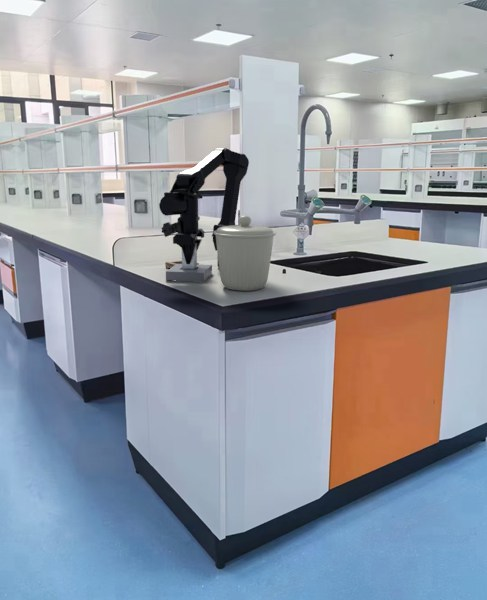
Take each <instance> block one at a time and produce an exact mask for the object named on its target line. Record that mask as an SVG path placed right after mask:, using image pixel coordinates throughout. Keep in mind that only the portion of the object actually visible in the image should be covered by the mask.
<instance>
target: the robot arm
mask: <svg viewBox="0 0 487 600" xmlns="http://www.w3.org/2000/svg"><path fill="white" fill-rule="evenodd" d="M249 164H250V162H249V158H248V157H247V155H246V154H245V153H240V152H236V151H233V150H230V149H229V148H227V147H216V148H214V149H213V150H212V152H211V153H209V154H208V155H207V156H206V157H205V158H203V159H202V160H201V161H199V163H198V164H196V165H195V166H193V167H192V168H188V169H185V170H183V171H181V172H179V173H178V174H177V175H176V177H175V181H174V183H173V185H172V187H171V190H170V191H169V192H167V191H166V192H165V191H164V194H163V197H162V198H160V202H159V204H158V207H159V210H160V212H161V214H162V215H164V216H176V215H177V216H178V217H177V222H174V223H170V222H169V221H168V222H164V223H163V224H162V227H161V233H162V234H163V235H164V238H167V237H169V236H171V235H173V234H175V233H176V234H175V235H174V236H173V237H172V244H174V245H178V247H180V248H181V251H182V250H183V253H184V257H185V260H186V264H190V262H191V260H192V257H193V254H194V250H195V248H196V245H197V251H198V250H199V247H200V245H201V243H202V240H203V238H205V231H204V230H203V229H202V228H199V221H200V216H199V199H203V197H204V196H203V195H202V194H200V193H199V191H200V190H201V188H202V187H203V186H204V185H205V183H206V178H207V177H209V176H210V175H211V174H212V173H213V172H214V171H216V170H217V169H218V168H219V167H220V166H221V167H222V172H223V173H224V177H225V186H224V192H223V193H224V194H223V201H222V207H221V208H222V209H221V215H220V221H219V222H218V223H217V224H214V225H213V228H212V230H213V231H212V235H211V237H212V243H213V247H214V250H215V251H216V252H217V244H216V235H215V234H214V233H213V232H214V231H216V230H217V229H218V228H220V227H223V226H229V225H236V218H237V217H236V216H237V211H238V203H239V201H238V200H239V197H240V196H239V195H240V189H241V182H242V180H243V179H244V177H245V176H246V175H247V172H248V169H249ZM198 237H199V239H198ZM217 267H218V268H217V269H218V270H219V263H218V262H217Z"/></svg>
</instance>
